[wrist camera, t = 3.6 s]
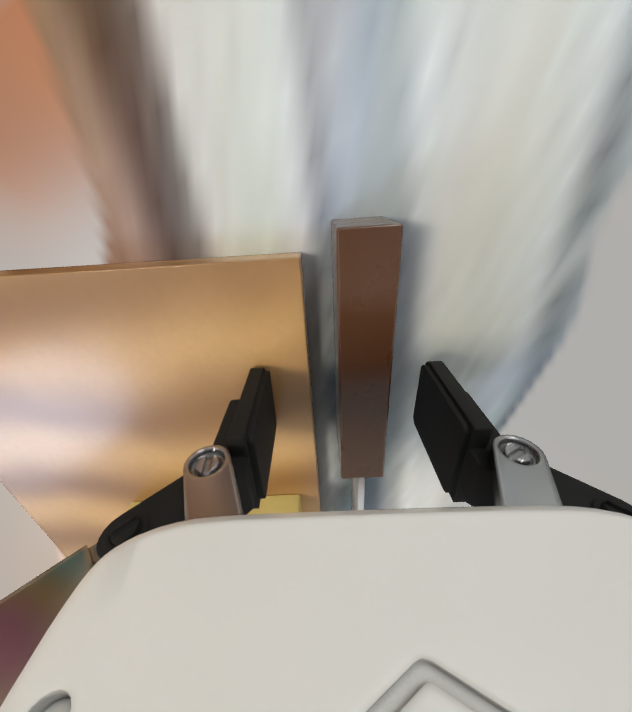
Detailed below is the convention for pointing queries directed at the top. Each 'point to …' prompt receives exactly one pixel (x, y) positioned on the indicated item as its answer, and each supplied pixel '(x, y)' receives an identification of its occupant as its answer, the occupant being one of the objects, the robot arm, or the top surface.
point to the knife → (364, 341)
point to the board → (144, 380)
